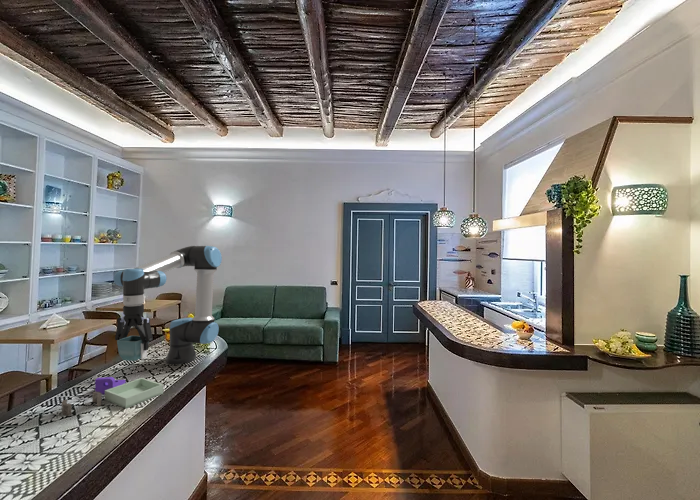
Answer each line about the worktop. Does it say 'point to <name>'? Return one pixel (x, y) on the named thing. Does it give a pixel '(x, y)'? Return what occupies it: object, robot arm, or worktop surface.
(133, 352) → the flower pot
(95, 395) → the holder
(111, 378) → the bracket
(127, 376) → the worktop surface
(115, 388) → the pale green square tray
